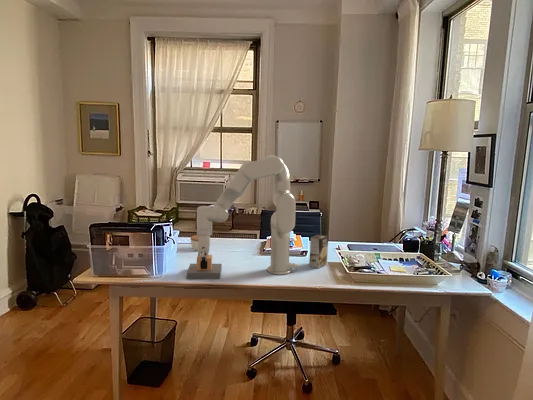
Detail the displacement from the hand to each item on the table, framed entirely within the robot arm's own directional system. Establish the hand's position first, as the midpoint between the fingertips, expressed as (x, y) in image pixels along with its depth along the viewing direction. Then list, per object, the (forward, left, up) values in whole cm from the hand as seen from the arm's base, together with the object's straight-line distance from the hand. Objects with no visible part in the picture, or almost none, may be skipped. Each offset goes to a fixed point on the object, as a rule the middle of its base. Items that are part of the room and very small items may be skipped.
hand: (204, 266), depth 196 cm
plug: (0, 0, -3) cm, 3 cm away
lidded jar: (+7, -42, -4) cm, 43 cm away
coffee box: (-60, -14, -4) cm, 62 cm away
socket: (0, 0, -4) cm, 4 cm away
